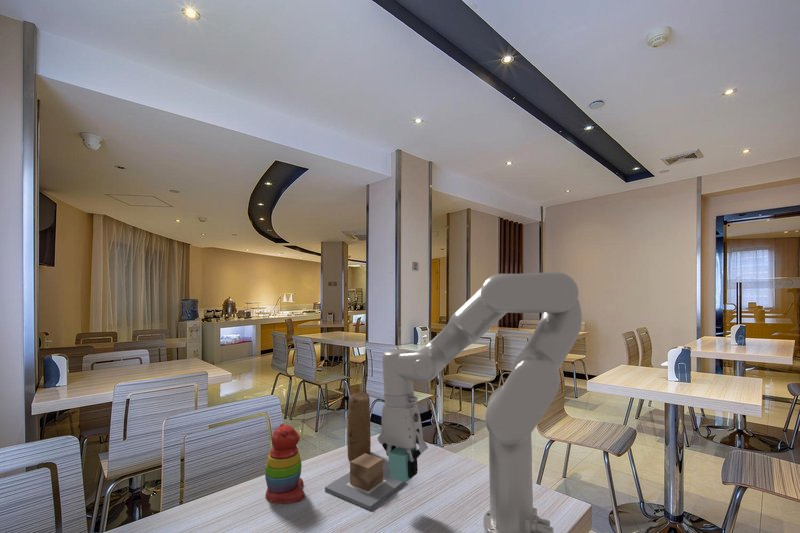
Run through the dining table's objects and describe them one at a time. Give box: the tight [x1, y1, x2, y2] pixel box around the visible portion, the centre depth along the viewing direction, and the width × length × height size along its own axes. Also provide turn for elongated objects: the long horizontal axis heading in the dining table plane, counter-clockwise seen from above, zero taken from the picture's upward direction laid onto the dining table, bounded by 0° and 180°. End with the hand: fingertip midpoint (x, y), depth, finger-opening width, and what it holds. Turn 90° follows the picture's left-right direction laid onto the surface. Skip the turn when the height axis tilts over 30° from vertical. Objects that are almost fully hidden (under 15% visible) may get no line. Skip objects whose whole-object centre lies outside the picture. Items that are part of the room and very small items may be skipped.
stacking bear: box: [264, 422, 306, 504], centre depth 101 cm, size 11×10×18 cm
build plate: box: [324, 470, 407, 511], centre depth 103 cm, size 16×16×1 cm
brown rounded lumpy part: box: [346, 391, 372, 462], centre depth 122 cm, size 11×8×20 cm
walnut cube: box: [349, 453, 384, 491], centre depth 103 cm, size 6×6×6 cm
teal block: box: [388, 447, 413, 483], centre depth 94 cm, size 5×5×6 cm
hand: (403, 472), depth 93 cm, fingers closed on teal block, 4 cm apart
